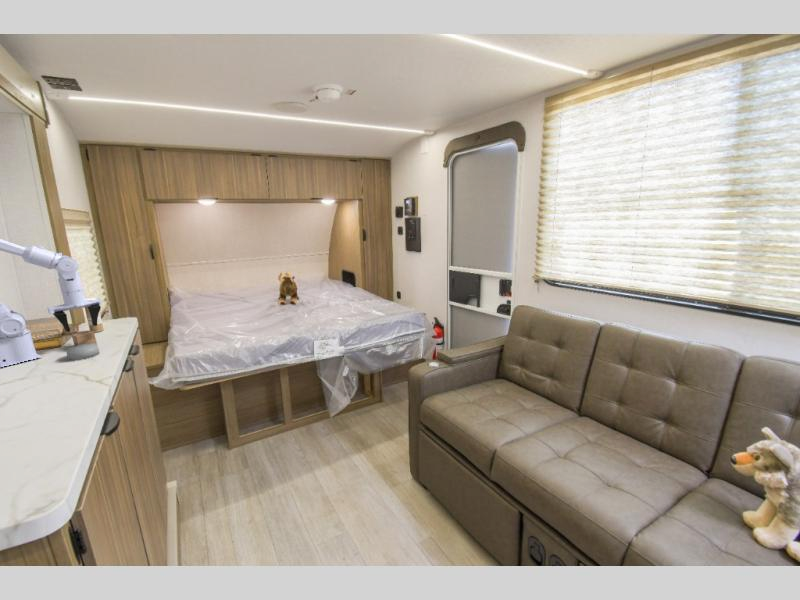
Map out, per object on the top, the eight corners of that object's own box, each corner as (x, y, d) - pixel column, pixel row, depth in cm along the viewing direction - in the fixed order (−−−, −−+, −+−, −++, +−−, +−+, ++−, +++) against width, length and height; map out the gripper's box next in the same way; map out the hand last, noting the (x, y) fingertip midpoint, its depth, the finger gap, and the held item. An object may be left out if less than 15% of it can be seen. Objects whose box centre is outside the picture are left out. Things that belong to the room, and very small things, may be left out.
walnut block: (79, 350, 128) (76, 336, 127) (74, 347, 131) (71, 334, 129) (97, 345, 132) (94, 332, 131) (92, 343, 135) (88, 330, 133)
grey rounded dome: (73, 362, 117) (70, 353, 116) (64, 357, 121) (62, 349, 120) (103, 354, 123) (101, 345, 122) (94, 349, 127) (92, 341, 127)
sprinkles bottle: (87, 332, 147) (79, 300, 144) (99, 329, 151) (92, 297, 148) (94, 333, 145) (86, 301, 142) (106, 330, 149) (99, 298, 146)
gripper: (48, 296, 118) (59, 336, 122) (102, 288, 130) (110, 324, 133) (41, 294, 122) (52, 332, 125) (94, 286, 134) (103, 321, 137)
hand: (81, 328), depth 130 cm, fingers open, 7 cm apart
